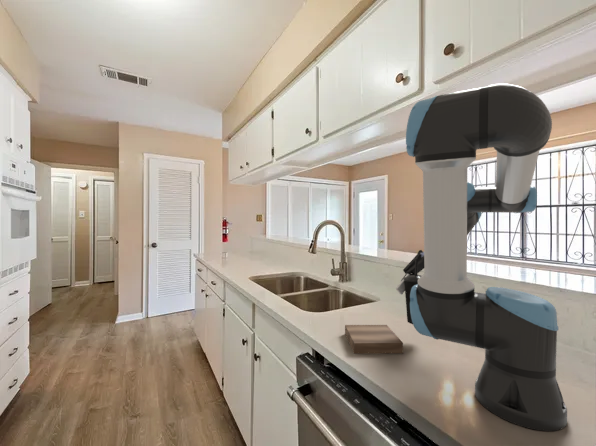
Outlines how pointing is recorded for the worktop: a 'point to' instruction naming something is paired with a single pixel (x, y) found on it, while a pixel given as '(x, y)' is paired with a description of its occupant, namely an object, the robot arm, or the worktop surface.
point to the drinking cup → (410, 282)
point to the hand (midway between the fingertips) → (407, 294)
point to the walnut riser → (373, 339)
